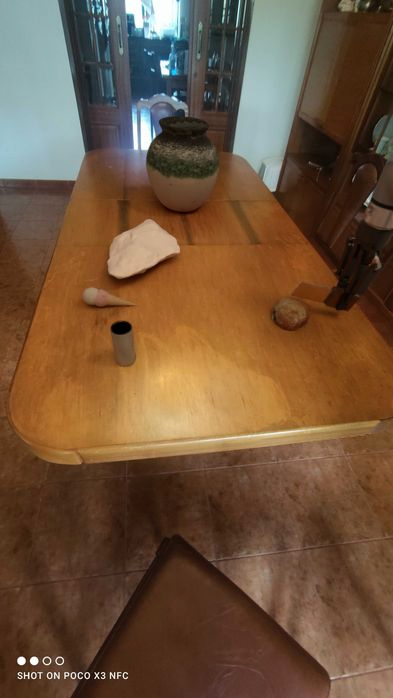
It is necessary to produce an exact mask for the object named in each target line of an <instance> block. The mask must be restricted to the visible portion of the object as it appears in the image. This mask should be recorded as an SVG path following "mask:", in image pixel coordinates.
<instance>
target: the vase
mask: <svg viewBox="0 0 393 698" xmlns="http://www.w3.org/2000/svg"><path fill="white" fill-rule="evenodd" d="M158 125H159V127H160V129H161V132H160V133H159V134H157V135H155V137H154V138H153V139H152V141H151V142H150V144H149V146H148V149H147V152H146V157H145V169H146V173H147V177H148V181H149V184H150V186H151V189H152V190H153V193H154V194H155V196H156V198H157V200H158V201H159V202H160V203H161V204H162V205H163V206H164V207H165V208H167V209H169V210H171V211H175V212H181V213H187V212H192V211H194V210H197V209H198V208H200V207H201V206H202V205H203V204H205V203H206V201H207V200H208V198H209V197H210V195H211V193H212V192H213V190H214V187H215V185H216V183H217V180H218V176H219V172H220V158H219V153H218V150H217V148H216V146H215V144H214V142H213V141H212V140H211V138H209V137H208V136H207V135H206V134H207V132H208V130H209V128H210V123H209V122H208V121H206V120H204V119H201V118H196V117H192V116H182V115H181V116H180V115H178V116H177V115H176V116H174V115H173V116H165V117H162V118H160V119H159V120H158Z"/></svg>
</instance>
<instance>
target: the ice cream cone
mask: <svg viewBox="0 0 393 698" xmlns="http://www.w3.org/2000/svg"><path fill="white" fill-rule="evenodd" d="M82 299H83V301H84V302H85V304H87V305H90V306H96V307H99V308H104V307H106V306H121V307H127V306H132V307H133V306H134V307H136V306H137V307H139V305H138V304H136V303H133V302H131V301H129V300H126V299H124V298H121V297H118V296H117V295H114V294H111V293H109V292H108V291H106V290H105V289H103V288H101V289H100V288H96V287H87V288H85V289H84V291H83V292H82Z"/></svg>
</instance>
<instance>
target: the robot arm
mask: <svg viewBox="0 0 393 698" xmlns="http://www.w3.org/2000/svg"><path fill="white" fill-rule="evenodd" d="M392 238H393V150H392V151H391V153H390V155H389V157H388V159H387V160H386V162H385V165H384V167H383V169H382V172H381V174H380V176H379V178H378V181H377V183H376V185H375V188H374V189H373V193H372V195H371V197H370V200H369V202H368V204H367V206H366V208H365V210H364V213H363V215H362V219H361V220H360V222H359V223H358V226H357V227H356V230H355V232H354V237H347V238H346V240H345V247H344V250H343V252H342V255H341V258H340V261H339V264H338V266H337V269H336V272H335V274H336V276H338V282H337V284H336V285H335V286H336V287H340V288H343V289H345V290H344V292H343V294H342V297H341V299H340V301H339V303H338V305H337V307H336V308H335V311H336V312H340V311H341V312H343V311H345V310H346V309H347V307H348V305H349V303H351V302H352V300H353V298H354V296H355V295H359V296H360V295H364V294H365V292H366V291H367V289H368V288H369V286H370V285H371V284H372V282H373V280H374V279H375V277H376V276H377V274H378V273H379V272H380V271H382V270H383V269H384V267H385V263H384V262H381V261H380V256H381V254H382V253H381V252H382V249H383V248H384V247H386V246H387V245H388V244H389V242H390V241H391V239H392Z"/></svg>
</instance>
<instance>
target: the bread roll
mask: <svg viewBox="0 0 393 698" xmlns="http://www.w3.org/2000/svg"><path fill="white" fill-rule="evenodd" d="M310 315H311V314H310V309H309V308H308V305H307V304H306V303H305V302H304V301H302V300H300V299H294V298H290V297H287V296H286V297H282V298H280V299H279V300H277V301H276V303H274V306H273V308H272V311H271V315H270V319H271V320H273V322H274V323H275V324H277V325H278V326H279V328H282V329H283V330H286V331H298V330H300V329H302V328H303V327H305V326H306V325H307V324H308V322H309V320H310Z"/></svg>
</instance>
